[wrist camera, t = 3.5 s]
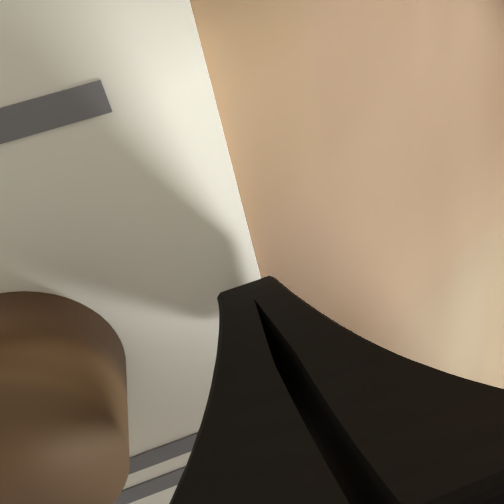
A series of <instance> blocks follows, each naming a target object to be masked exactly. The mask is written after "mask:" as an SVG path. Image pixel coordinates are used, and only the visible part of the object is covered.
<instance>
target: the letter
mask: <svg viewBox="0 0 504 504" xmlns="http://www.w3.org/2000/svg"><path fill="white" fill-rule="evenodd" d="M259 279H261V276H260V272H259V268H258V264H257V260H256V257H255V253H254V249H253V245H252V241H251V237H250V233H249V229H248V225H247V222H246V218H245V214H244V210H243V206H242V202H241V198H240V194H239V190H238V187H237V183H236V179H235V175H234V171H233V167H232V163H231V159H230V156H229V152H228V148H227V144H226V140H225V136H224V132H223V128H222V124H221V121H220V117H219V113H218V109H217V105H216V101H215V97H214V93H213V89H212V86H211V82H210V78H209V74H208V70H207V66H206V62H205V58H204V54H203V51H202V47H201V43H200V39H199V35H198V31H197V27H196V23H195V19H194V16H193V12H192V8H191V4H190V0H0V293H6V292H16V291H32V292H43V293H50V294H55V295H59V296H62V297H66V298H69V299H72V300H74V301H77V302H79V303H81V304H83V305H85V306H87V307H89V308H91V309H92V310H93V311H95V312H96V313H98V314H99V315H100V316H102V317H103V318H104V319H105V320H106V321H107V322H108V323H109V324H110V325H111V327H112V328H113V329H114V330H115V332H116V333H117V335H118V337H119V338H120V340H121V343H122V345H123V348H124V352H125V357H126V378H127V404H128V429H129V455H130V468H129V474H128V478H127V481H126V484H125V486H124V488H123V490H122V492H121V494H120V495H119V497H118V498H117V499H116V501H115V502H114V503H113V504H169V503H170V501H171V499H172V496H173V494H174V492H175V490H176V487H177V485H178V483H179V481H180V478H181V476H182V474H183V472H184V469H185V467H186V464H187V462H188V459H189V457H190V454H191V451H192V448H193V445H194V443H195V440H196V437H197V434H198V431H199V428H200V425H201V422H202V418H203V415H204V411H205V408H206V404H207V400H208V396H209V392H210V388H211V383H212V378H213V372H214V367H215V361H216V355H217V346H218V335H219V305H218V300H217V297H218V295H219V294H220V292H223V291H226V290H229V289H232V288H235V287H238V286H241V285H244V284H247V283H250V282H253V281H256V280H259Z"/></svg>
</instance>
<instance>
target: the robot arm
mask: <svg viewBox="0 0 504 504" xmlns="http://www.w3.org/2000/svg"><path fill="white" fill-rule="evenodd" d="M217 300H218V305H219V335H218V346H217V355H216V361H215V367H214V372H213V378H212V383H211V388H210V392H209V396H208V400H207V404H206V408H205V411H204V415H203V418H202V422H201V425H200V428H199V431H198V434H197V437H196V440H195V443H194V445H193V448H192V451H191V454H190V457H189V459H188V462H187V464H186V467H185V469H184V472H183V474H182V476H181V478H180V481H179V483H178V485H177V487H176V490H175V492H174V494H173V496H172V499H171V501H170V503H169V504H504V389H501V388H497V387H493V386H490V385H486V384H482V383H479V382H475V381H472V380H468V379H464V378H461V377H458V376H455V375H452V374H449V373H446V372H443V371H440V370H437V369H435V368H432V367H429V366H426V365H423V364H421V363H418V362H415V361H412V360H410V359H407V358H405V357H402V356H400V355H398V354H395V353H393V352H391V351H389V350H387V349H385V348H382V347H380V346H378V345H376V344H374V343H372V342H370V341H368V340H366V339H364V338H362V337H361V336H359V335H357V334H355V333H353V332H352V331H350V330H348V329H346V328H345V327H343V326H341V325H340V324H338V323H336V322H335V321H333V320H331V319H330V318H328V317H327V316H325V315H324V314H322V313H321V312H319V311H318V310H316V309H315V308H313V307H312V306H310V305H309V304H307V303H306V302H305V301H303V300H302V299H300V298H299V297H298V296H296V295H295V294H294V293H292V292H291V291H290V290H289V289H287V288H286V287H285V286H284V285H282V284H281V283H280V282H279V281H278V280H277V279H275V278H274V277H272V276H267V277H264V278H262V279H259V280H256V281H253V282H250V283H247V284H244V285H241V286H238V287H235V288H232V289H229V290H226V291H223V292H220V294H219V295H218V297H217Z"/></svg>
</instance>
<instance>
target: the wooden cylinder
mask: <svg viewBox="0 0 504 504" xmlns="http://www.w3.org/2000/svg"><path fill="white" fill-rule="evenodd" d="M129 468H130V455H129V429H128V404H127V378H126V357H125V352H124V348H123V345H122V343H121V340H120V338H119V337H118V335H117V333H116V332H115V330H114V329H113V328H112V327H111V325H110V324H109V323H108V322H107V321H106V320H105V319H104V318H103V317H102V316H100V315H99V314H98V313H96V312H95V311H93V310H92V309H91V308H89V307H87V306H85V305H83V304H81V303H79V302H77V301H74V300H72V299H69V298H66V297H62V296H59V295H55V294H50V293H43V292H32V291H16V292H6V293H0V504H113V503H114V502H115V501H116V499H117V498H118V497H119V495H120V494H121V492H122V490H123V488H124V486H125V484H126V481H127V478H128V474H129Z"/></svg>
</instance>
